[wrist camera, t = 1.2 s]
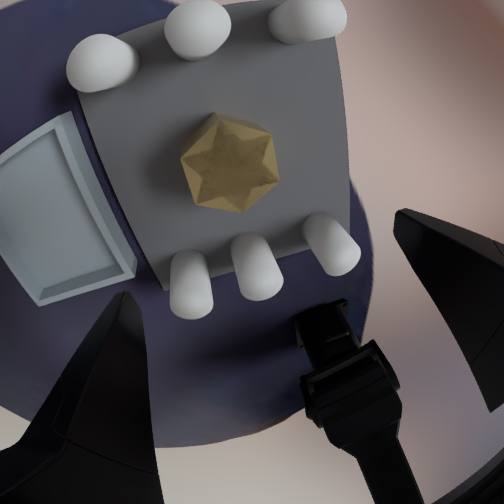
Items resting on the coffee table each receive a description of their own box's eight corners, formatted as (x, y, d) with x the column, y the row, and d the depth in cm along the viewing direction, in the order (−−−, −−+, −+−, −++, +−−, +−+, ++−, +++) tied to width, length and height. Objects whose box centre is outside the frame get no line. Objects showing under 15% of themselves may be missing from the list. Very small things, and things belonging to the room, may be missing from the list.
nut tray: (137, 261, 21) (134, 277, 20) (44, 291, 21) (38, 306, 19) (71, 110, 13) (58, 115, 12) (-24, 176, 13) (-37, 186, 11)
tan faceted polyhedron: (268, 181, 19) (283, 202, 17) (199, 200, 19) (202, 225, 16) (252, 102, 16) (266, 109, 13) (175, 123, 16) (172, 133, 13)
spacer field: (347, 234, 24) (375, 267, 20) (164, 287, 24) (164, 331, 20) (323, 0, 12) (362, -15, 8) (70, 59, 11) (35, 59, 7)
